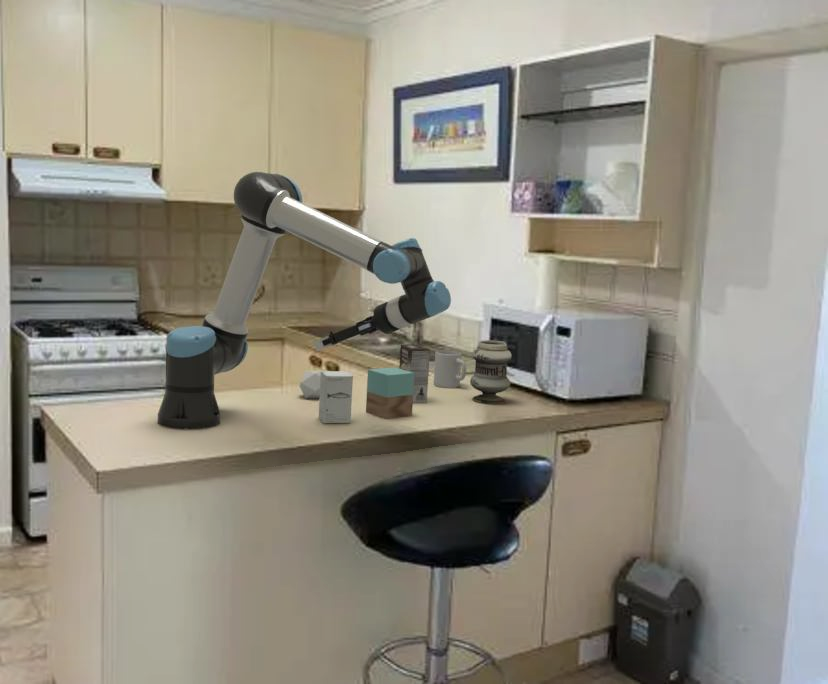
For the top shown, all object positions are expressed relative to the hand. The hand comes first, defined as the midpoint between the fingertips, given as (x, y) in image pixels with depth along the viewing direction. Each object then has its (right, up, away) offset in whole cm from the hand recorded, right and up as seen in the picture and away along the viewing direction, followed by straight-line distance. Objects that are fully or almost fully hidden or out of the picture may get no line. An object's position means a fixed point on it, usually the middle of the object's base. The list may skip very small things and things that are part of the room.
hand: (331, 340), depth 230 cm
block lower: (+15, -20, +11) cm, 27 cm away
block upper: (+15, -14, +10) cm, 23 cm away
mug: (+33, -15, +56) cm, 67 cm away
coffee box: (+21, -18, +32) cm, 42 cm away
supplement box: (+1, -21, 0) cm, 21 cm away
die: (-8, -17, +27) cm, 33 cm away
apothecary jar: (+44, -18, +37) cm, 60 cm away
